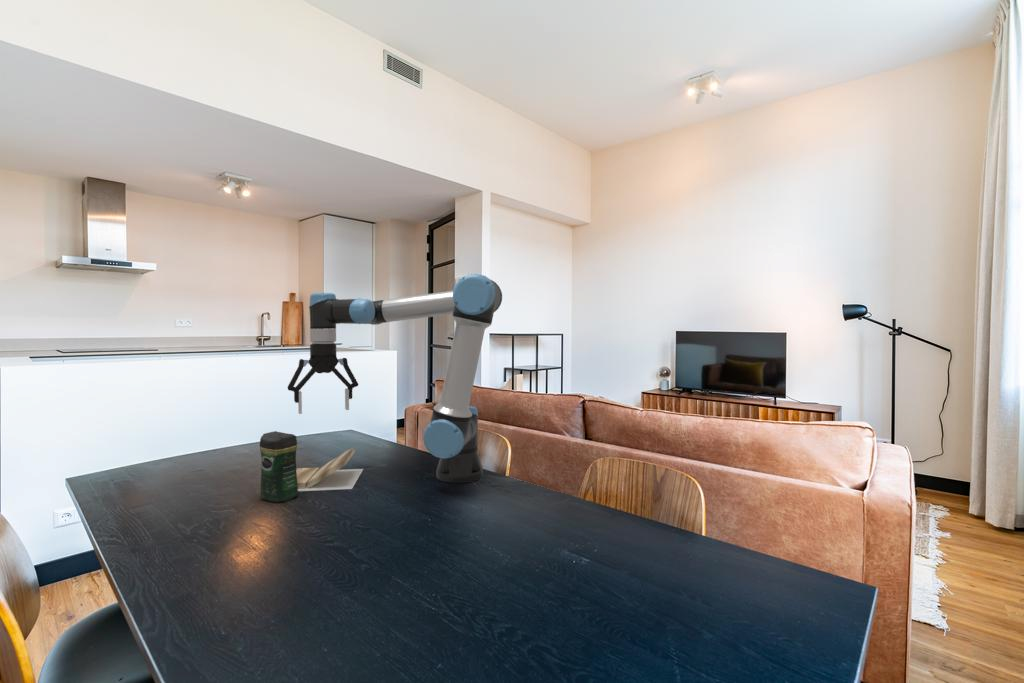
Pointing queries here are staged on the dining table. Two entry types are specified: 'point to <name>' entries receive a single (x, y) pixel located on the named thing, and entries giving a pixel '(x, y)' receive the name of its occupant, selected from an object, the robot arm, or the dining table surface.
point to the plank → (331, 467)
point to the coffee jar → (278, 466)
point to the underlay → (337, 480)
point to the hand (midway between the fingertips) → (324, 411)
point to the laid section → (305, 476)
